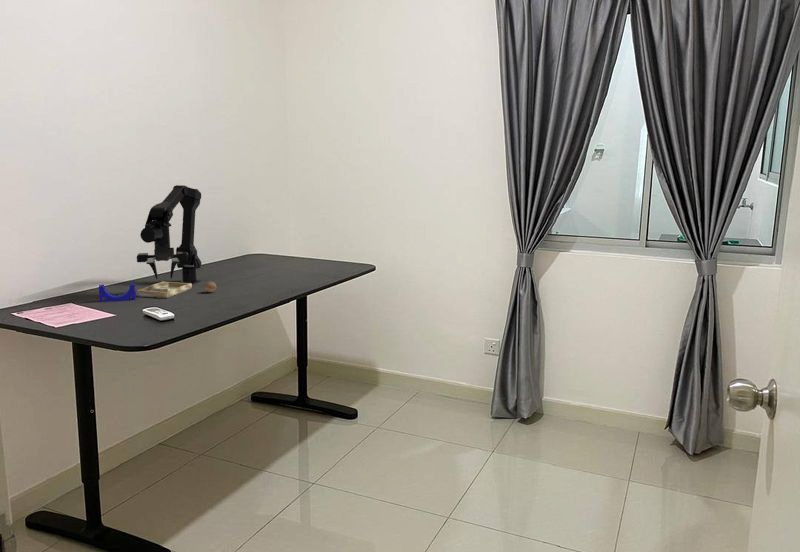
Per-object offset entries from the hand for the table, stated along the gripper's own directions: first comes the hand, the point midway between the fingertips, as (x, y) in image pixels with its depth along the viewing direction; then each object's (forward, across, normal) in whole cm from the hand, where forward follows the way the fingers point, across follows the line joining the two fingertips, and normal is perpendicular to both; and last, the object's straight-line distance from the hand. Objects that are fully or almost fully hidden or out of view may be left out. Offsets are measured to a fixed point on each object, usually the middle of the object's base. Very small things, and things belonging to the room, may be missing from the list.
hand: (164, 278), depth 251 cm
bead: (+6, +17, -4) cm, 19 cm away
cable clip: (+6, -16, -9) cm, 19 cm away
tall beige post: (+4, 0, +5) cm, 6 cm away
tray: (+6, 0, 0) cm, 6 cm away
